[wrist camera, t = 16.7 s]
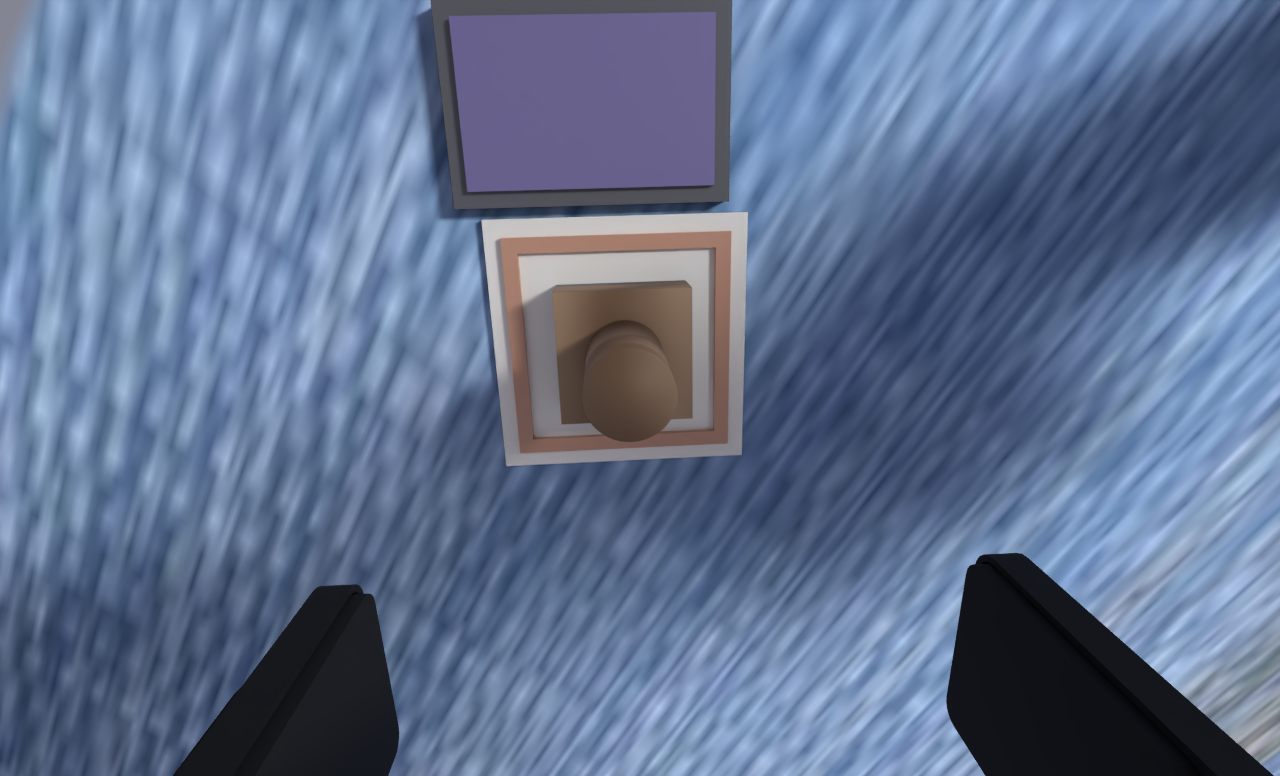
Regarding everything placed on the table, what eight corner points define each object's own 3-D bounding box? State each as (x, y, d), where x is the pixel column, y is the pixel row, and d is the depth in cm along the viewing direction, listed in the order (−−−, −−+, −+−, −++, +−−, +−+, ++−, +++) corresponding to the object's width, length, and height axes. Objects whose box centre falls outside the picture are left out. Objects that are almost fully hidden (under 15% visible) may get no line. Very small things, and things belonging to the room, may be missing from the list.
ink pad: (727, 0, 26) (733, -9, 24) (725, 201, 28) (730, 201, 27) (436, 4, 25) (428, -5, 24) (458, 208, 27) (452, 209, 26)
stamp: (685, 280, 29) (714, 311, 21) (685, 401, 31) (713, 470, 23) (556, 284, 28) (538, 317, 21) (564, 407, 30) (551, 478, 23)
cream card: (746, 211, 28) (749, 212, 28) (740, 452, 32) (743, 457, 31) (482, 219, 28) (480, 220, 27) (507, 463, 31) (505, 468, 31)
